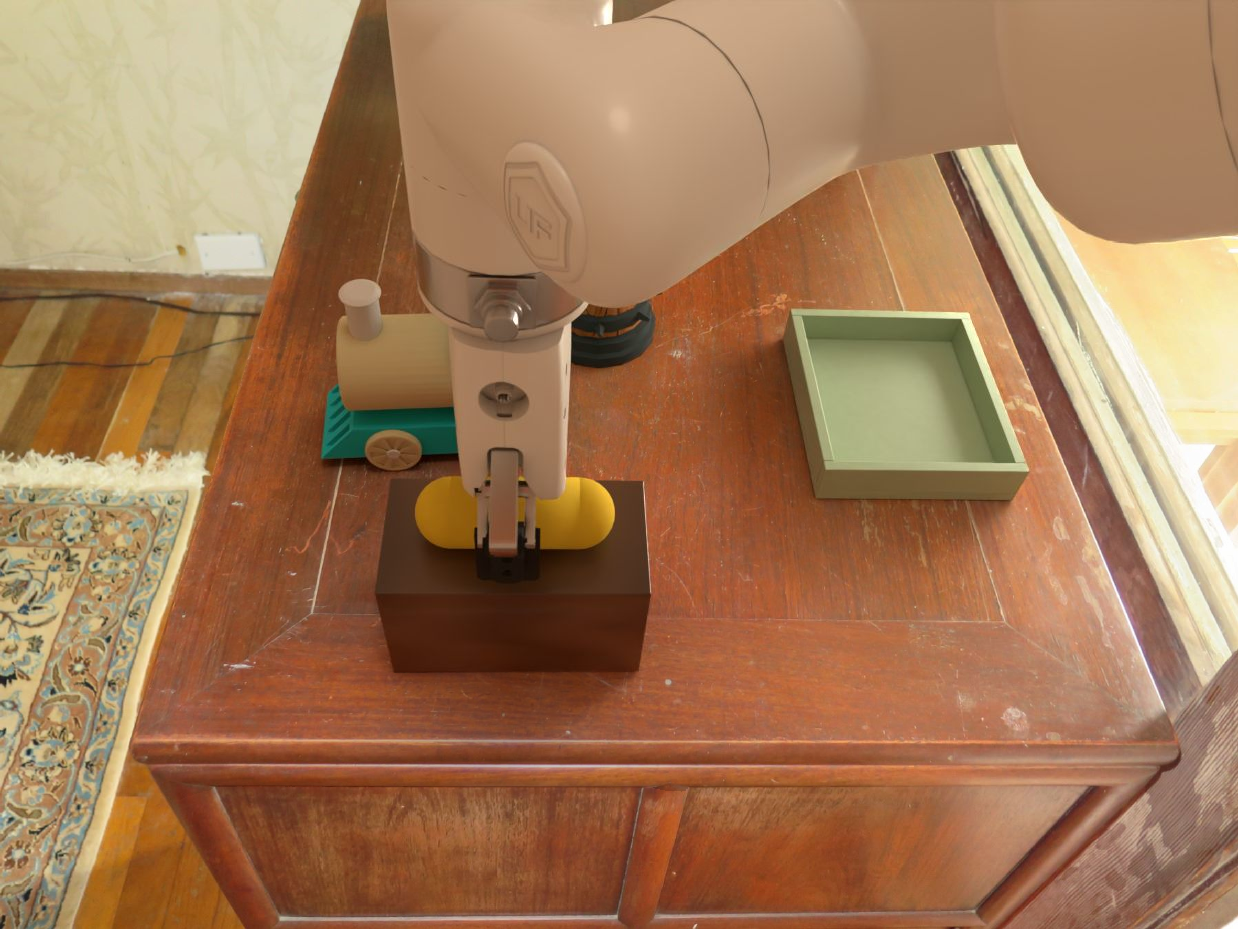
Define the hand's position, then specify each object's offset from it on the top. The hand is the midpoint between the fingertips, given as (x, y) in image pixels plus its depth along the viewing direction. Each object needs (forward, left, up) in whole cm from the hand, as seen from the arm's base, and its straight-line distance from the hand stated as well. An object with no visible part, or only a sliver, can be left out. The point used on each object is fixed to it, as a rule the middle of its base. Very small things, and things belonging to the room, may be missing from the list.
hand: (511, 500), depth 54 cm
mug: (+19, -20, -12) cm, 30 cm away
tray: (-3, -33, -12) cm, 35 cm away
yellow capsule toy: (0, 0, -3) cm, 3 cm away
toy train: (+16, -5, -12) cm, 21 cm away
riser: (0, 0, -12) cm, 12 cm away
